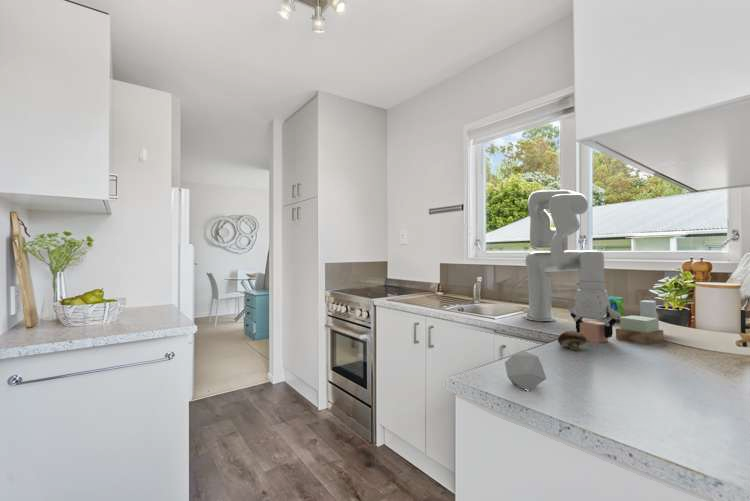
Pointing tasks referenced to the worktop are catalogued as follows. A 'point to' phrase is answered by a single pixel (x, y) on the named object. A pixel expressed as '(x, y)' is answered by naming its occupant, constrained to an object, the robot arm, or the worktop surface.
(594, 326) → the cube
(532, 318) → the robot arm
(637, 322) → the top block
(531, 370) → the die
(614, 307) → the snack cup
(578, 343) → the mushroom
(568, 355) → the worktop surface
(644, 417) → the worktop surface
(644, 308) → the skincare box
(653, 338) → the bottom slab
